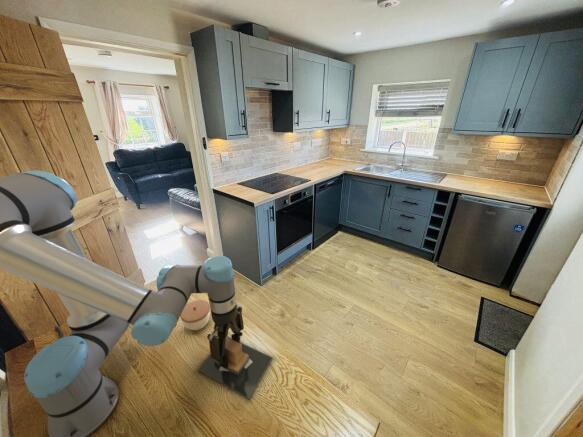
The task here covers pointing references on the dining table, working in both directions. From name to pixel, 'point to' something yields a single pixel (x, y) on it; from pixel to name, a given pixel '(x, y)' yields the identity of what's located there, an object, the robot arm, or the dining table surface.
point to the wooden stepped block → (234, 356)
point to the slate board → (246, 378)
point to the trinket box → (195, 314)
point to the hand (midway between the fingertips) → (230, 357)
